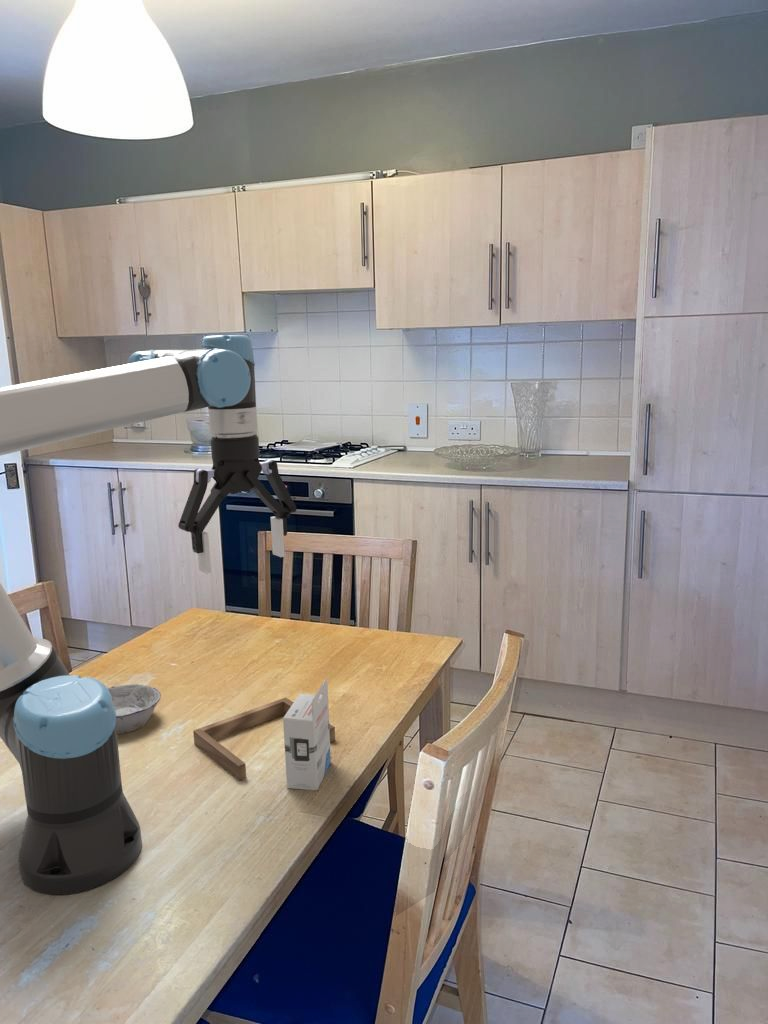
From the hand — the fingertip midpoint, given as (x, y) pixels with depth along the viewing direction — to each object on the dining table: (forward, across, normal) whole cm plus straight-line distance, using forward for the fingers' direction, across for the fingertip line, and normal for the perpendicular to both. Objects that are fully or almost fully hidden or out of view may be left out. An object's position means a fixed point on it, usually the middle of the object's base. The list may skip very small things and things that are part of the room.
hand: (243, 563), depth 128 cm
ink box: (+31, 0, -17) cm, 35 cm away
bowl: (+31, -16, +19) cm, 40 cm away
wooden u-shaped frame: (+31, 0, -4) cm, 31 cm away
